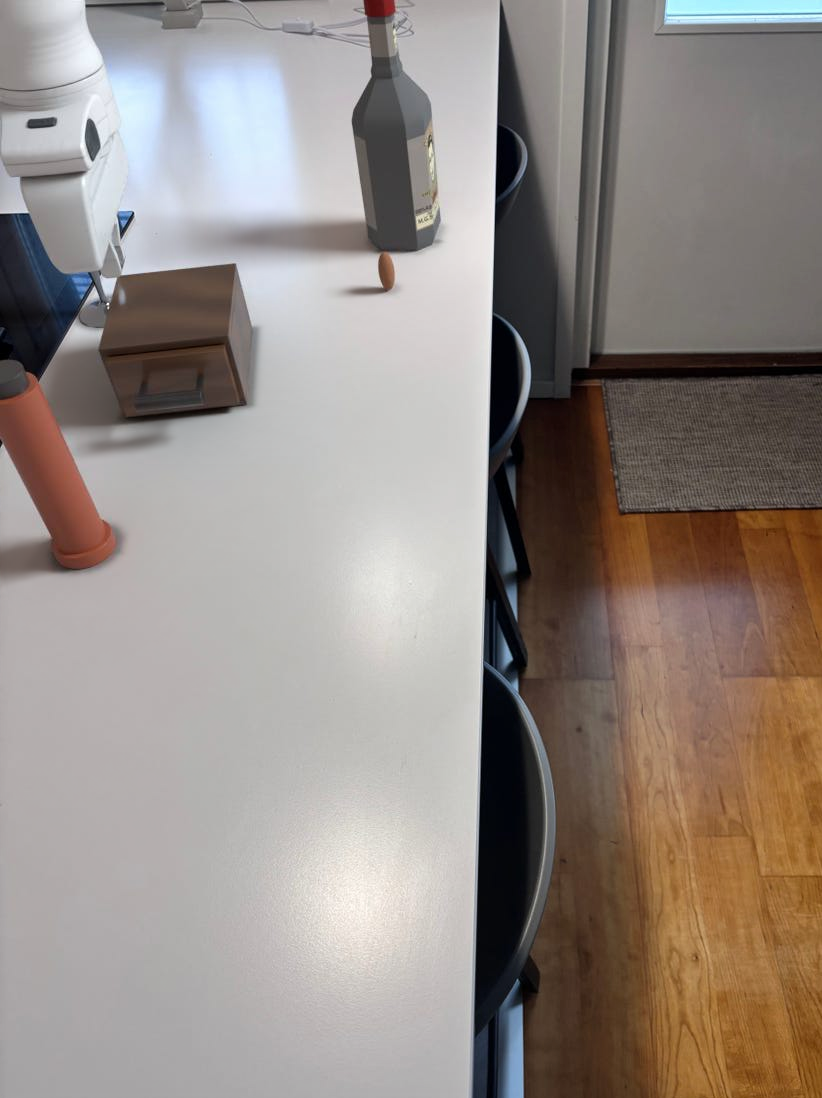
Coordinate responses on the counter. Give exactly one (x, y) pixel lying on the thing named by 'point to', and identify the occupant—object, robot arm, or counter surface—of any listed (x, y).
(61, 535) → the pepper mill
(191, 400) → the drawer
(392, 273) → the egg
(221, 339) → the cabinet
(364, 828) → the counter surface
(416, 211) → the liquor
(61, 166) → the robot arm
